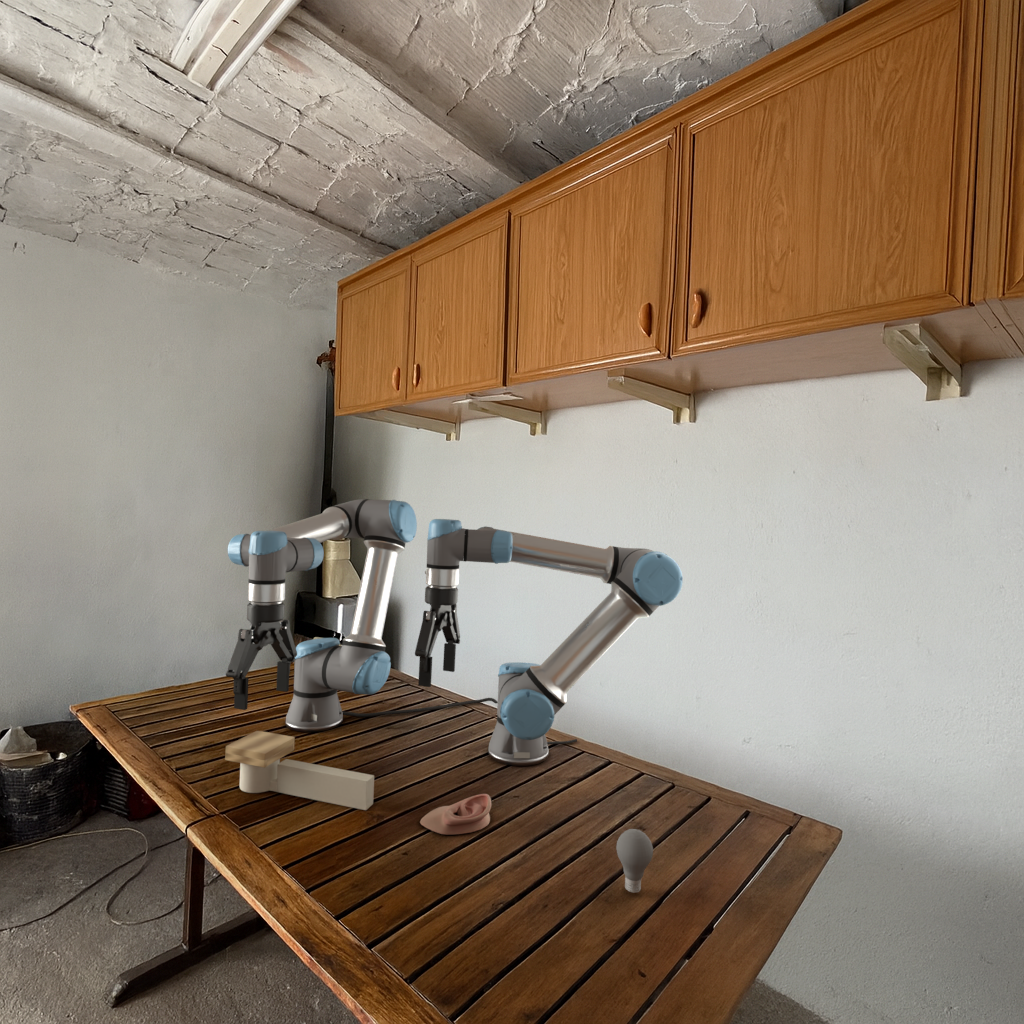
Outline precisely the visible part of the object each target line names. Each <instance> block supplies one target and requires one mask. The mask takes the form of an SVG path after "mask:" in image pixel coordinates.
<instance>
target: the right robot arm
mask: <svg viewBox="0 0 1024 1024" xmlns="http://www.w3.org/2000/svg"><path fill="white" fill-rule="evenodd" d="M426 540H427V542H426V545H427V546H426V570H425V571H424V574H425V584H426V585H427V586H426V587H425V588H424V590H425V591H424V603H426V604H428V605H429V606H430V608H429V610H423V612H422V613H423V615H422V621H421V626H420V630H419V633H418V639H417V642H416V646H415V650H414V656H415V657H418V658H419V665H418V684H417V685H418V686H419V687H424V688H425V687H426V688H431V687H432V676H433V675H432V673H433V656H431V655H432V653H433V649H434V648H435V644H436V641H437V638H438V635H439V632H441V631H442V634H443V636H444V639H445V643H444V644H443V661H442V662H443V663H442V671H444V672H451V673H454V672H455V670H456V652H457V645H459V644H461V632H460V627H459V626H460V625H459V620H458V613H457V611H458V606H457V603H458V602H459V601H458V600H459V599H458V598H459V589H458V586H459V584H460V583H459V582H460V562H465V563H466V562H473V563H488V564H496V565H497V564H498V565H499V564H508V563H514V564H521V565H526V566H530V567H537V568H541V569H546V570H547V569H548V570H553V571H557V572H558V571H559V572H564V573H570V574H575V575H579V576H586V577H592V578H596V579H600V580H601V582H602V583H603V584H608V585H611V587H610V588H611V590H610V592H609V594H608V595H606V596H605V598H603V600H602V601H601V602H600V603H599V604H598V605H597V606H596V607H595V608H594V609H593V610H592V611H591V612H590V613H589V614H588V615H587V617H586V618H584V620H583V621H581V622H580V624H578V626H577V627H576V628H575V629H574V630H573V631H572V632H571V633H570V634H569V635H568V636H567V637H566V638H565V639H564V640H563V641H562V642H561V643H560V645H559V646H558V647H556V649H555V650H554V651H553V652H552V653H551V654H550V655H549V656H548V657H547V658H546V659H545V660H544V661H543V662H542V663H541V664H540V663H539V664H538V663H533V662H505V663H502V664H500V666H499V669H498V674H497V677H498V687H497V702H498V703H497V709H496V724H495V726H494V729H493V732H492V734H491V737H490V741H488V742H489V743H488V750H487V753H488V756H489V757H490V758H491V759H492V760H494V761H495V762H498V763H500V764H504V765H507V766H515V767H529V766H534V765H535V766H536V765H538V764H542V763H543V762H545V761H546V760H548V758H549V745H568V744H573V743H577V742H578V739H577V738H575V739H570V740H564V741H563V740H562V741H561V740H560V741H559V740H558V741H556V740H555V741H548V740H547V736H546V734H547V733H548V732H549V731H550V729H551V728H552V726H553V723H554V721H555V715H557V713H559V712H560V710H561V709H562V708H563V707H564V706H565V705H566V704H567V701H568V699H567V698H568V697H567V694H568V692H569V691H570V690H571V689H572V688H573V687H574V686H575V685H576V684H577V683H578V682H579V681H580V679H581V678H582V677H583V676H584V675H585V674H586V673H588V671H589V670H590V669H591V668H592V667H593V666H594V665H595V664H596V663H597V662H598V661H599V660H600V659H601V658H602V657H603V656H604V654H606V652H607V651H608V650H609V649H610V648H611V647H612V646H613V645H614V644H615V643H616V642H617V641H618V640H619V639H620V638H621V637H622V635H623V634H625V632H627V630H628V629H630V628H631V626H632V625H634V623H635V622H636V621H637V620H638V619H643V618H649V617H650V616H651V615H652V614H653V613H654V612H655V611H656V610H657V609H658V608H659V607H661V606H665V605H668V604H669V603H673V601H674V600H676V598H678V596H679V594H680V593H681V591H682V588H683V583H684V581H683V572H682V569H681V567H680V566H679V564H678V562H677V561H675V559H674V558H672V557H671V556H670V555H668V554H666V553H664V552H662V551H657V550H656V551H655V550H652V549H650V548H643V547H641V548H640V547H620V546H613V545H609V546H607V547H606V548H604V547H598V546H597V547H596V546H592V545H586V544H581V543H575V542H570V541H565V540H558V539H554V538H549V537H543V536H538V535H531V534H525V533H520V532H515V531H507V530H503V529H497V528H494V527H491V526H481V527H479V528H477V529H469V528H463V526H462V521H461V520H459V519H450V518H448V519H447V518H434V519H432V520H431V521H429V523H428V532H427V539H426Z"/></svg>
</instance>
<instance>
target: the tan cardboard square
mask: <svg viewBox="0 0 1024 1024" xmlns="http://www.w3.org/2000/svg"><path fill="white" fill-rule="evenodd" d="M295 738H296V737H295V736H291V735H285V734H280V733H274V732H268V731H262V730H256V731H253V732H251V733H249V734H248V735H245V736H243V737H241V738H239V739H238V740H235V741H233V742H231V743H229V744H227V745H225V753H224V754H225V755H224V760H225V761H228V762H233V763H239V764H240V763H243V764H248V765H253V766H259V767H264V768H265V767H267V766H268V765H270V764H272V763H273V762H275V761H277V760H278V759H280V760H281V759H282V758H284V757H285V756H287V755H289V754H290V753H292V752H294V751H295V743H296V742H295V741H296V739H295Z"/></svg>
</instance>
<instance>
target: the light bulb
mask: <svg viewBox="0 0 1024 1024" xmlns="http://www.w3.org/2000/svg"><path fill="white" fill-rule="evenodd" d="M615 849H616V854H617V857H618V859H619V861H620V863H621V865H622V867H623V873H624V874H623V875H624V876H625V878H624V888H625V890H627V891H628V892H630V893H634V894H635V893H639V892H640V891H641V889H642V887H641V886H642V879H643V877H644V875H645V871H646V868H647V867H648V866H649V864H650V863H651V861H652V859H653V855H654V847H653V843H652V841H651V838H649V836H648V835H647V834H646V833H645V832H643V831H642V830H641V829H636V828H629V829H627V830H625V831H623V832H622V833H621V834H620V835H619V837H618V839H617V841H616V847H615Z"/></svg>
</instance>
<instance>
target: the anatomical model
mask: <svg viewBox="0 0 1024 1024" xmlns="http://www.w3.org/2000/svg"><path fill="white" fill-rule="evenodd" d="M491 809H492V798H491V796H490V795H489V794H488V793H479V794H476V795H472V796H469V797H467V798H463V799H462V800H460V801H457V802H455V803H453V804H450V805H442V806H439V807H437V808H434V809H432V810H430V811H429V812H428V813H426V814H425V815H424V816H423V817H422V818H421V819H420V821H419V823H420V825H421V826H423V827H424V828H426V829H428V830H430V831H432V832H433V833H434V832H435V833H437V834H441V835H446V836H448V835H449V836H450V835H463V834H469V833H473V832H477V831H480V830H483V829H484V828H485V827H487V826H488V825H489V824H490V822H491V815H490V811H491Z"/></svg>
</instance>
